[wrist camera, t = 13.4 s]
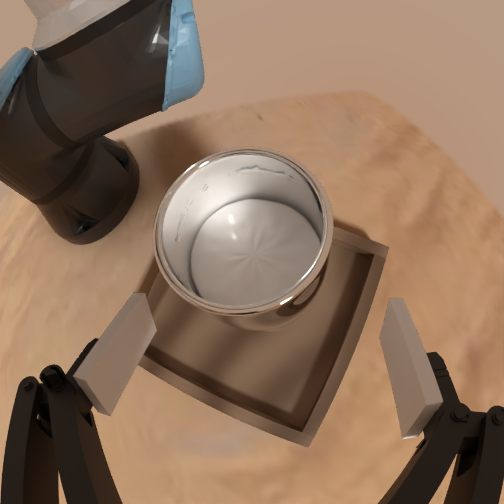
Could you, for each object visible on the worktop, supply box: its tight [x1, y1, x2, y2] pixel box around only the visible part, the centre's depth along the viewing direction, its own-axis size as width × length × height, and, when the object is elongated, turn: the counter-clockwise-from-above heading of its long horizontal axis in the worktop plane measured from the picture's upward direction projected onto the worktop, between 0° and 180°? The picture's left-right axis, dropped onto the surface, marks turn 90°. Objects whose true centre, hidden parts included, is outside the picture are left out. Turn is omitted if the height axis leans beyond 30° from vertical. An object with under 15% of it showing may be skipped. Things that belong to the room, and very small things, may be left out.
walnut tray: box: [138, 226, 389, 447], centre depth 27 cm, size 20×20×2 cm
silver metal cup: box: [153, 147, 334, 332], centre depth 17 cm, size 7×7×15 cm
